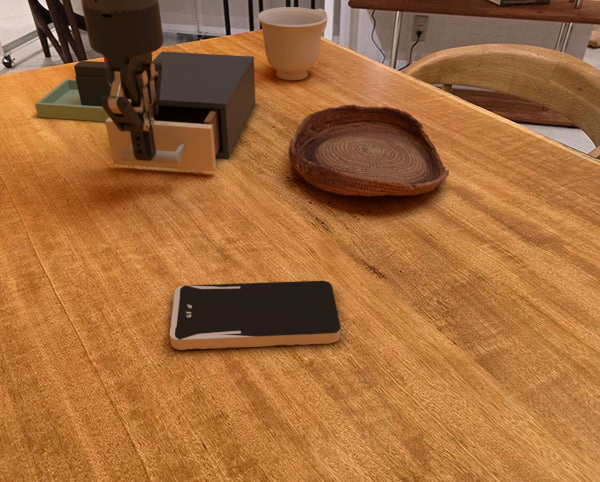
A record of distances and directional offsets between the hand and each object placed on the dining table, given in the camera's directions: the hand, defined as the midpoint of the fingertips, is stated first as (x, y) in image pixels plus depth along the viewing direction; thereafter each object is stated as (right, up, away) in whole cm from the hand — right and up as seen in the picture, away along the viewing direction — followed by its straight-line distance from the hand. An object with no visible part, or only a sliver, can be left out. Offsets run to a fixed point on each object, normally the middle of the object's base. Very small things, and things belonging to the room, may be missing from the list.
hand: (145, 157), depth 70 cm
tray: (-14, +14, +24) cm, 31 cm away
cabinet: (+3, +9, +19) cm, 21 cm away
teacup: (+18, +24, +38) cm, 48 cm away
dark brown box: (-13, +14, +24) cm, 31 cm away
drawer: (+2, +5, +12) cm, 13 cm away
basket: (+27, 0, +8) cm, 28 cm away
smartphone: (+14, -19, -15) cm, 28 cm away
